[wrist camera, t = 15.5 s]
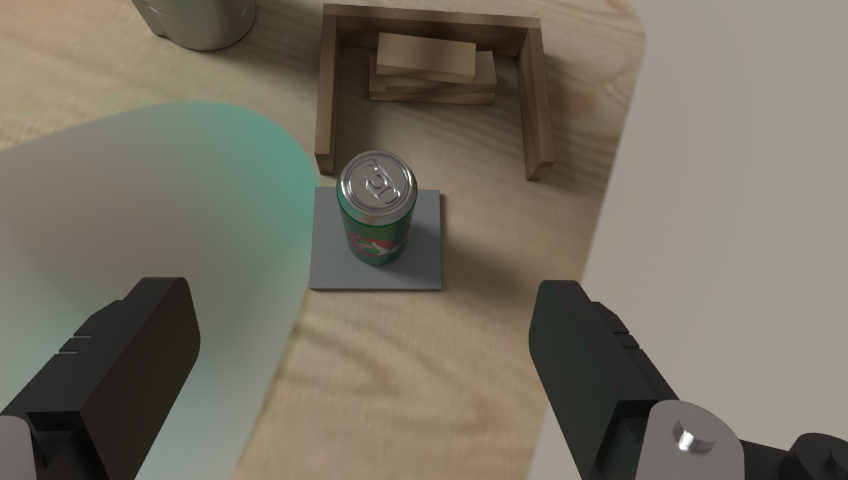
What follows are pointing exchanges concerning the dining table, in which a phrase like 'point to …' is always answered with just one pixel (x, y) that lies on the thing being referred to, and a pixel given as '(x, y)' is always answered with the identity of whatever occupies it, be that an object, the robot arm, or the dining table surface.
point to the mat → (346, 272)
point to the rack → (481, 29)
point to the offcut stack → (431, 71)
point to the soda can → (377, 205)
